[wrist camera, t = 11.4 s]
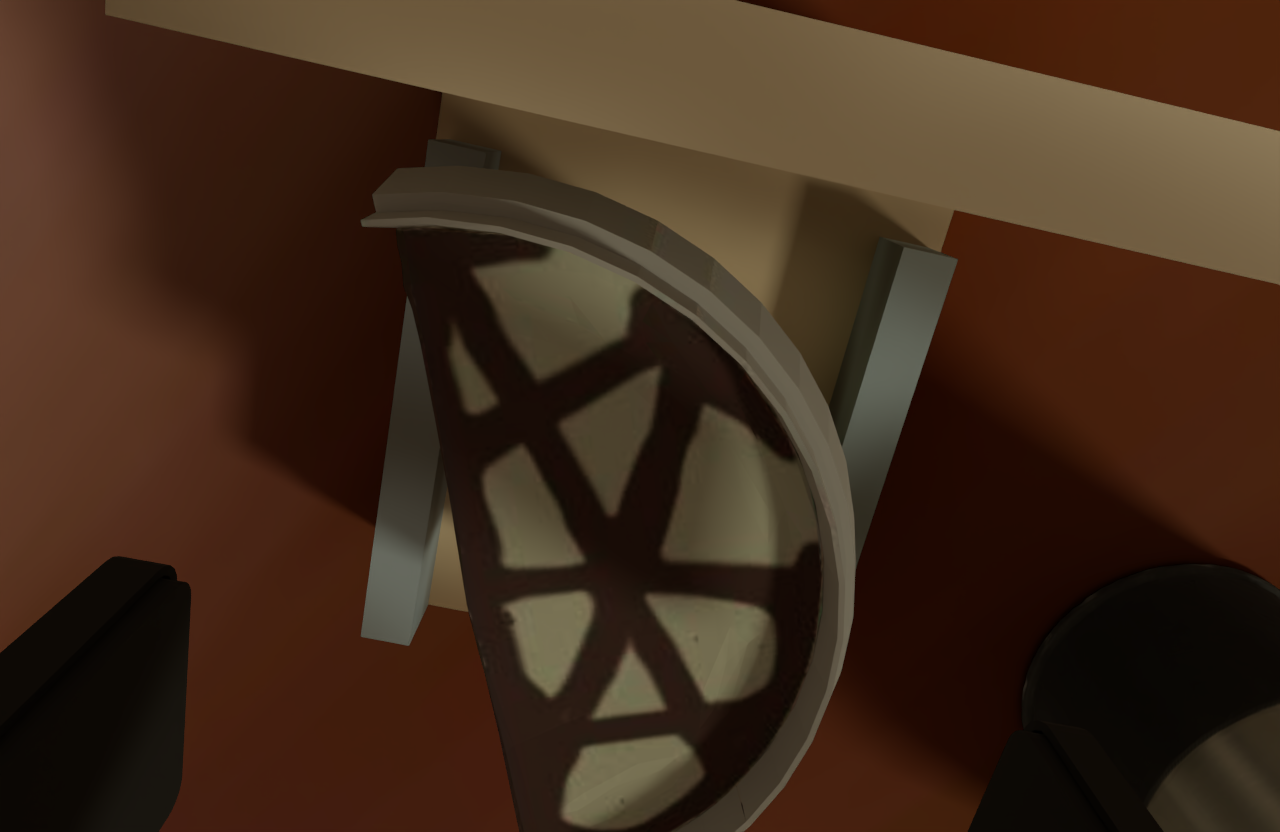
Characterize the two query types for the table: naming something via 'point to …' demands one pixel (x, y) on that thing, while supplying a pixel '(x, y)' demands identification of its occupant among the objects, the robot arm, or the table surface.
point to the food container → (626, 501)
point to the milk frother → (1175, 692)
